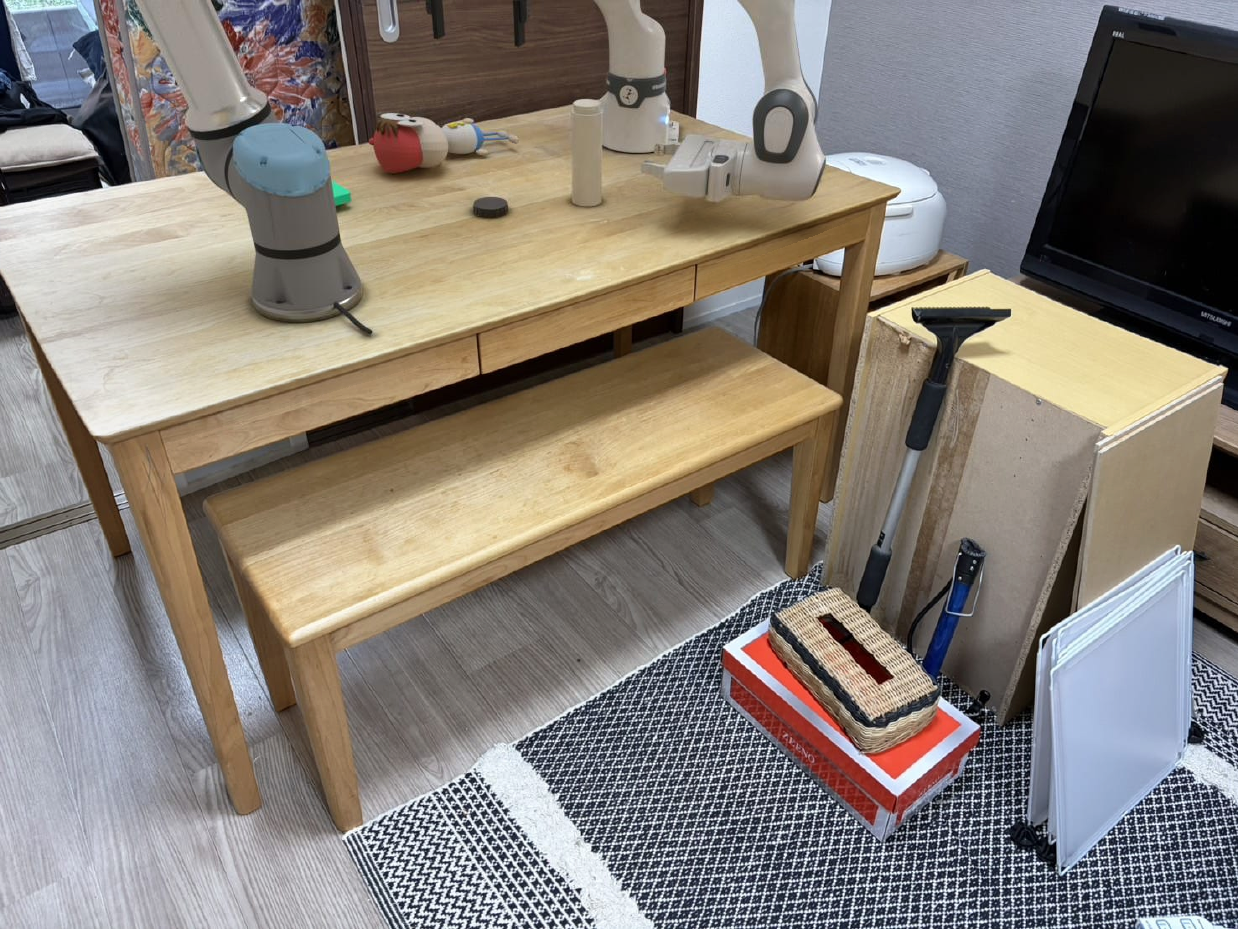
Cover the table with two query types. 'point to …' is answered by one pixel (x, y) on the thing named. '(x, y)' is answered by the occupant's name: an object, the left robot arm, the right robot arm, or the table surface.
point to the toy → (425, 141)
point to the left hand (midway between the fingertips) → (479, 41)
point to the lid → (490, 207)
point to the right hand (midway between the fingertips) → (648, 157)
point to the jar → (586, 152)
